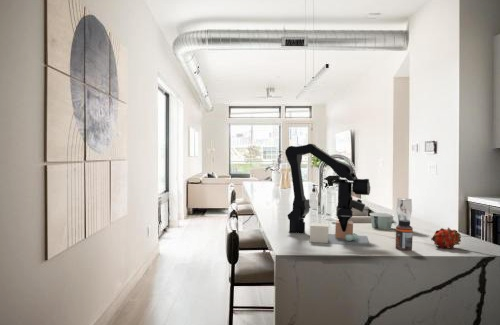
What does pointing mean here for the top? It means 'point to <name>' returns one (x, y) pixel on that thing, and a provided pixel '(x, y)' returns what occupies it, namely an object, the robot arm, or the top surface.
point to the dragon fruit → (446, 238)
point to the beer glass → (404, 209)
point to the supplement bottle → (404, 235)
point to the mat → (359, 242)
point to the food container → (381, 220)
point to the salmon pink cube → (340, 233)
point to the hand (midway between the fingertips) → (343, 229)
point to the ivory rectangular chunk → (319, 232)
